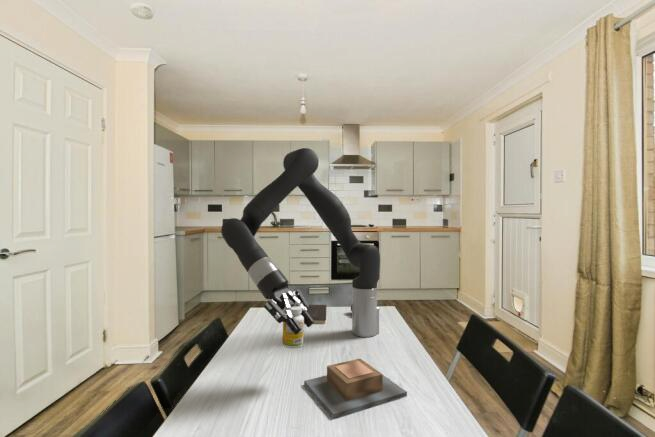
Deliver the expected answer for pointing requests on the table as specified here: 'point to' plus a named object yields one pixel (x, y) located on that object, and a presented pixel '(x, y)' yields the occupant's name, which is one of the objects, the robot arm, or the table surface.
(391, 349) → the table surface
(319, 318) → the hardcover book
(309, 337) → the table surface
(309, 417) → the table surface
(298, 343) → the supplement bottle
